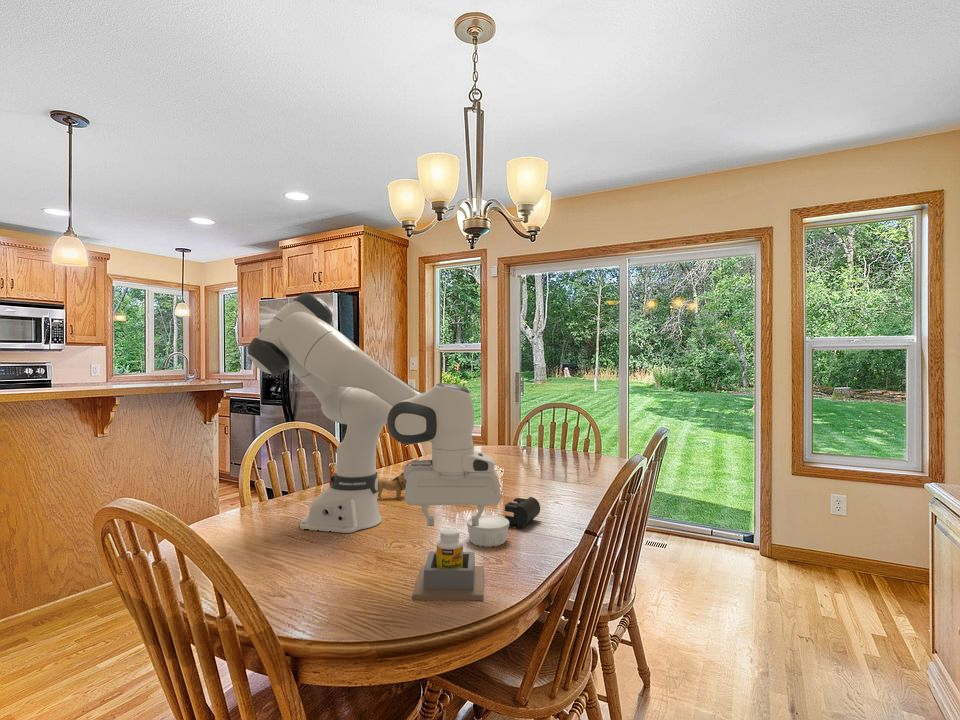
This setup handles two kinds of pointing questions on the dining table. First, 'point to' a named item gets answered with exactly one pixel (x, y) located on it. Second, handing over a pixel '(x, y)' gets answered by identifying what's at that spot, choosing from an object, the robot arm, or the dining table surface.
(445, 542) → the supplement bottle
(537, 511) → the end cap
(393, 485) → the lion figurine
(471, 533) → the ramekin
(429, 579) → the socket holder
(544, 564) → the dining table surface
